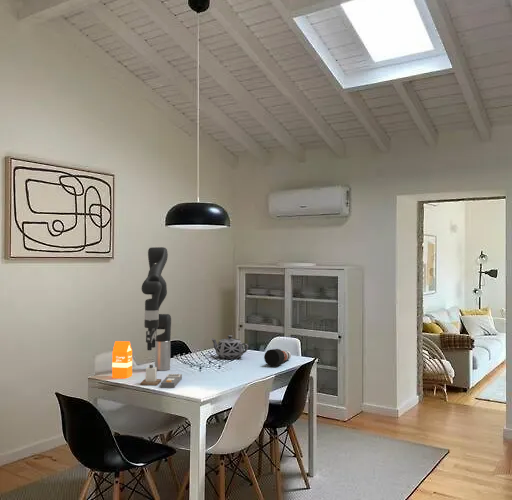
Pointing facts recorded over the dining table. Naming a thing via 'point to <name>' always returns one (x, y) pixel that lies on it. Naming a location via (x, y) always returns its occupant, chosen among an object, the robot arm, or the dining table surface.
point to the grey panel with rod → (171, 380)
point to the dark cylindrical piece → (276, 356)
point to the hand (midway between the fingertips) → (151, 348)
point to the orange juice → (122, 360)
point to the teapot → (229, 348)
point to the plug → (151, 374)
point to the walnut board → (150, 382)
